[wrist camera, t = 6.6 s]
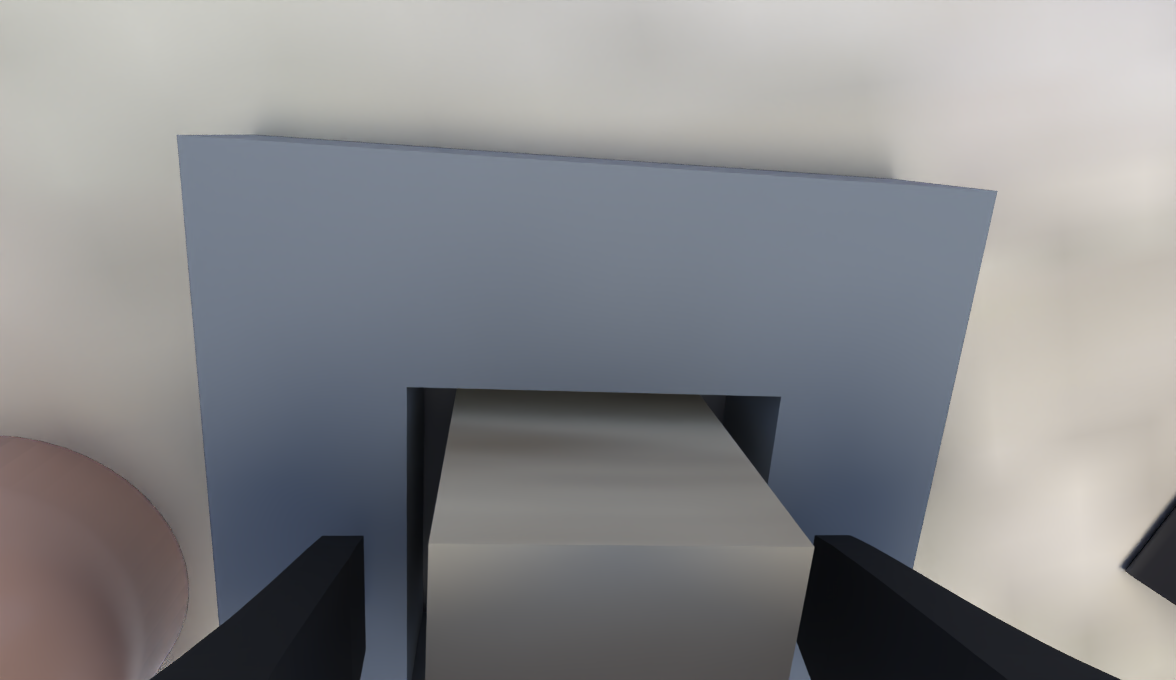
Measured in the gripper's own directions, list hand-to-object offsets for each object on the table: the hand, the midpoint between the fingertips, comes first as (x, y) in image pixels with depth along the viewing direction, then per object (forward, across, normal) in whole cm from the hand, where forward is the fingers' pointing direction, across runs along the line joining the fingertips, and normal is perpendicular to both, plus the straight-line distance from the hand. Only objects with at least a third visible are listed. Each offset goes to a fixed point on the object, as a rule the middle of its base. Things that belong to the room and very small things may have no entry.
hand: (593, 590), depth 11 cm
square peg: (+3, 0, 0) cm, 4 cm away
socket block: (+4, 0, 0) cm, 4 cm away
